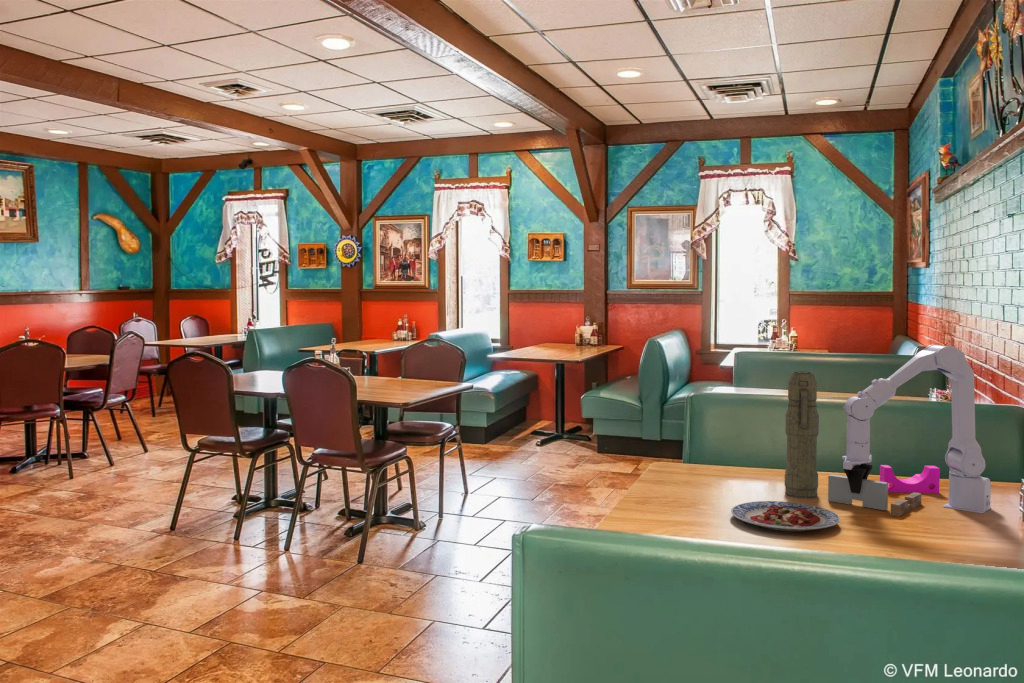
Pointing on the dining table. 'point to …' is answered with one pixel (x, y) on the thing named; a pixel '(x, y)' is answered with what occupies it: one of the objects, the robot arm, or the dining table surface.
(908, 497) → the walnut rail
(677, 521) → the dining table surface
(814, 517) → the ceramic plate
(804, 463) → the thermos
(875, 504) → the slate plate
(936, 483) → the toy block
